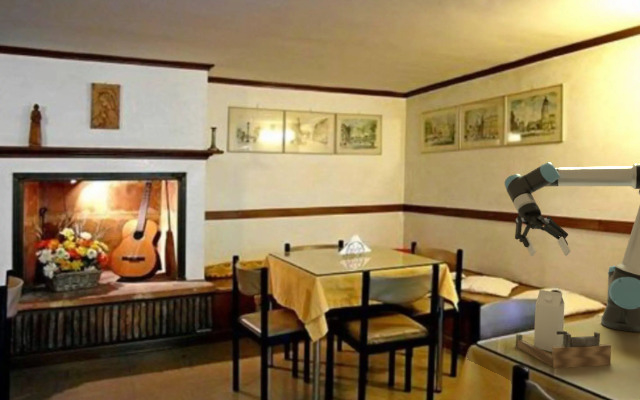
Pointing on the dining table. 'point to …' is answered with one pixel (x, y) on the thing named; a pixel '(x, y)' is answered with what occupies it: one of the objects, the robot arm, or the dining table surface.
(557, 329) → the milk carton
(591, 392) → the dining table surface
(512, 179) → the robot arm
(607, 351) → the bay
